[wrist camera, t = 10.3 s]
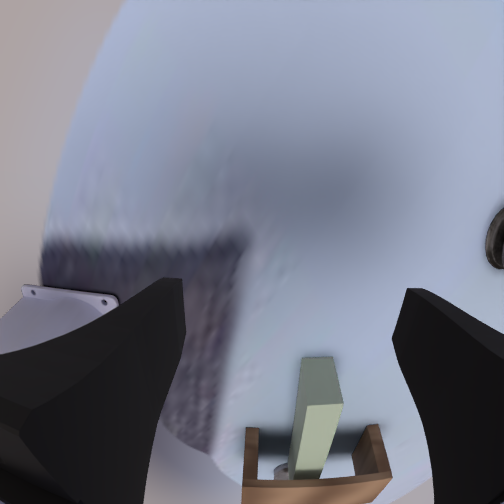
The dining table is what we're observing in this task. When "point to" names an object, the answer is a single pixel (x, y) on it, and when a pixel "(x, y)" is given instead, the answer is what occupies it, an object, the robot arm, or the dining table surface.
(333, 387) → the bar
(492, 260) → the salt shaker
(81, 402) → the robot arm
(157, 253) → the dining table surface
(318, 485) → the wooden bridge block
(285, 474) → the disc
